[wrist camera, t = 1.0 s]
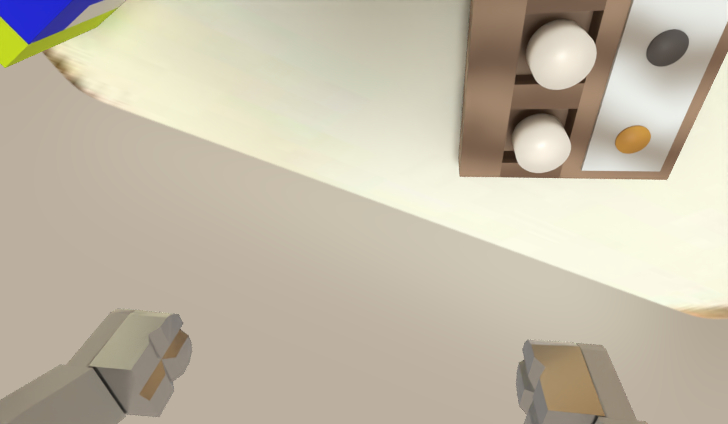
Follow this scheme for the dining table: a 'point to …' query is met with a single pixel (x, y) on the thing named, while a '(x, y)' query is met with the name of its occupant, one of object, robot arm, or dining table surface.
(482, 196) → the dining table surface
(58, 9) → the puzzle toy
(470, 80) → the console
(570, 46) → the middle button
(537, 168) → the button
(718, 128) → the dining table surface
